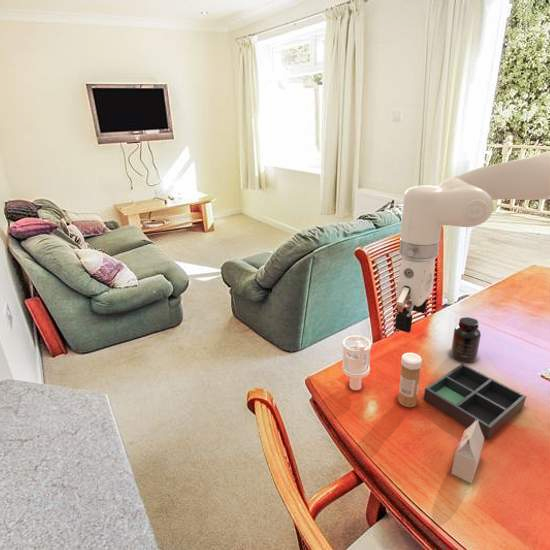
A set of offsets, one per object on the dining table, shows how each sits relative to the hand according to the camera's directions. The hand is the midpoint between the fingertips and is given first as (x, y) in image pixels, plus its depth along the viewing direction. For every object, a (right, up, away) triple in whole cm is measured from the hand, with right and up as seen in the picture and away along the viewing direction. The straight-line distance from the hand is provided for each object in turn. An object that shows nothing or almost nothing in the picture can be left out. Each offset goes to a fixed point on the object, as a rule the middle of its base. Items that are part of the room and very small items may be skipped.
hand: (410, 320), depth 83 cm
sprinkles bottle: (+3, -22, +11) cm, 25 cm away
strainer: (-9, -20, +17) cm, 28 cm away
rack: (+19, -22, +9) cm, 30 cm away
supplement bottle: (+25, -14, +26) cm, 39 cm away
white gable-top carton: (+9, -29, -7) cm, 31 cm away
